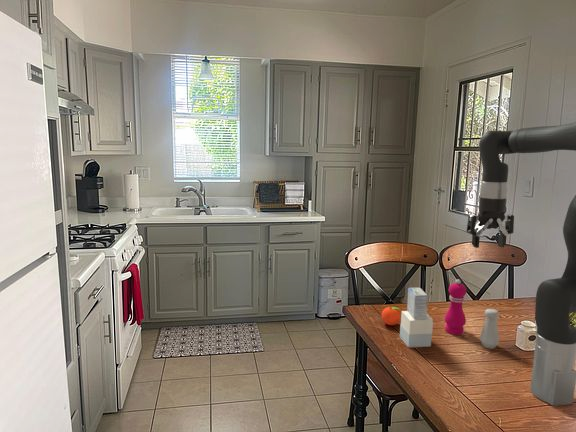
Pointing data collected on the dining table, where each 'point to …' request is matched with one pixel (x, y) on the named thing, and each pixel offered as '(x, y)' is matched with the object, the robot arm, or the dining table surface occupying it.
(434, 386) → the dining table surface
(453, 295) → the pepper mill
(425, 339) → the tower base
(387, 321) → the clementine
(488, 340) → the salt shaker
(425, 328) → the tower top
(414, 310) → the medicine box
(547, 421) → the dining table surface
